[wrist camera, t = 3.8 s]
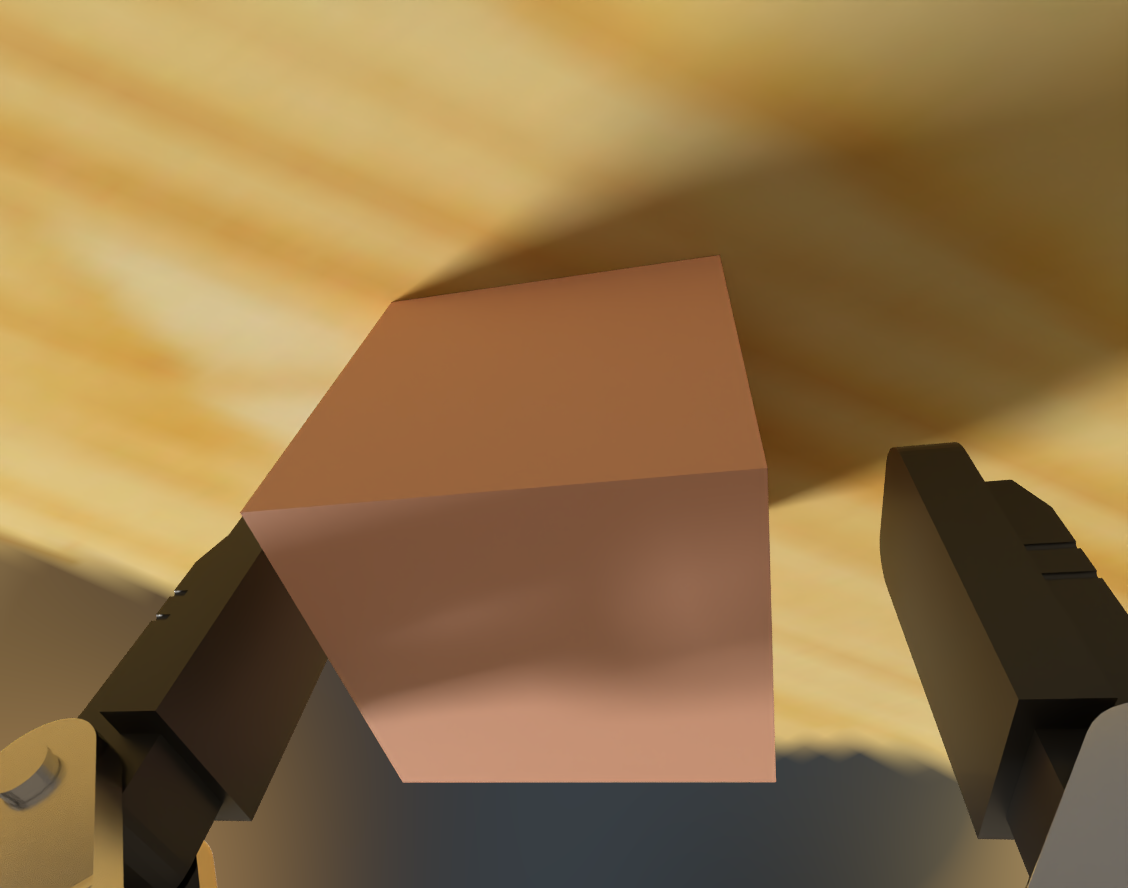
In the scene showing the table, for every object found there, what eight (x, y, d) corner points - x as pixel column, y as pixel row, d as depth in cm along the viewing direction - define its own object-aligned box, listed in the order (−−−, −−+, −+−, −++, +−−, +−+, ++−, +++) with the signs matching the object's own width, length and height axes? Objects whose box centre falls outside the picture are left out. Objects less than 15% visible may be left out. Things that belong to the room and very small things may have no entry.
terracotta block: (475, 533, 14) (402, 782, 10) (392, 300, 11) (241, 513, 7) (735, 515, 13) (775, 782, 9) (718, 253, 10) (767, 467, 6)
